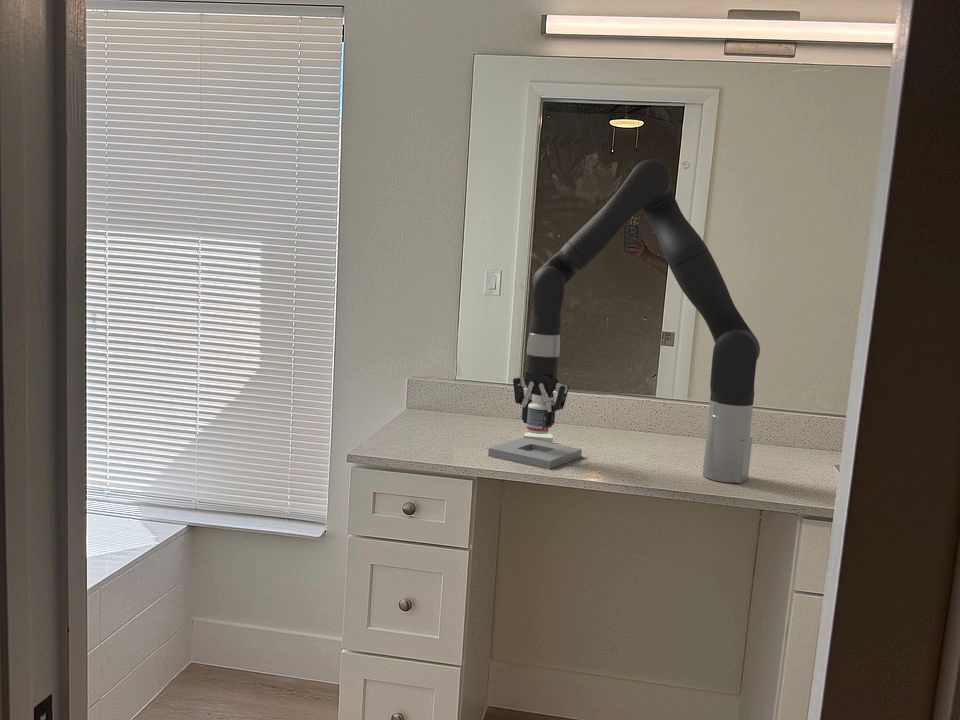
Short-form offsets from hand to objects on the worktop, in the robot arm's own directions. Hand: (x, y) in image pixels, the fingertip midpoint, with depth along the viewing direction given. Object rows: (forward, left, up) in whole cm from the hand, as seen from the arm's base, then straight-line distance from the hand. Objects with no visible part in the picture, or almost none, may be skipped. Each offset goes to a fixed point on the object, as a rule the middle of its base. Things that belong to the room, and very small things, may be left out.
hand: (537, 424), depth 200 cm
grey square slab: (0, 0, -8) cm, 8 cm away
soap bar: (+6, -12, -8) cm, 15 cm away
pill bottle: (0, 0, -2) cm, 2 cm away
